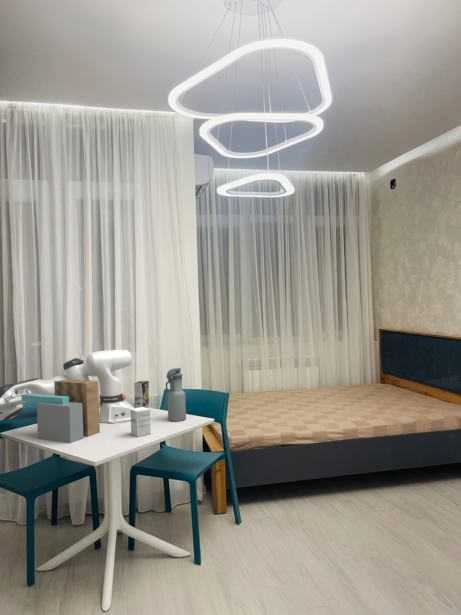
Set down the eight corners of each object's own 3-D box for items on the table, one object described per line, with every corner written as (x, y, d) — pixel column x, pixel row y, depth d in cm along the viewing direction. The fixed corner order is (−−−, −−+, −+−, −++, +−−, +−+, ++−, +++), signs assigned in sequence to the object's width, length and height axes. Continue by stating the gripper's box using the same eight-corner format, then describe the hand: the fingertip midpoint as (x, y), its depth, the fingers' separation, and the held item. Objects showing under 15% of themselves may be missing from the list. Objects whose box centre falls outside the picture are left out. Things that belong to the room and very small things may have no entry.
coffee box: (144, 409, 281) (143, 383, 281) (134, 409, 283) (133, 383, 283) (149, 406, 290) (149, 380, 290) (140, 406, 292) (139, 380, 292)
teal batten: (21, 400, 231) (21, 394, 231) (28, 399, 235) (28, 393, 235) (62, 404, 219) (62, 398, 219) (69, 402, 223) (68, 396, 223)
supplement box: (130, 434, 225) (129, 408, 225) (144, 431, 229) (143, 406, 229) (137, 437, 219) (136, 411, 219) (151, 434, 223) (150, 408, 223)
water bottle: (176, 423, 245) (175, 370, 245) (163, 420, 251) (162, 369, 251) (189, 418, 253) (188, 368, 253) (176, 416, 259) (175, 367, 259)
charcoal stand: (37, 438, 224) (36, 403, 224) (51, 433, 231) (50, 400, 231) (70, 443, 213) (69, 406, 213) (83, 438, 220) (82, 403, 221)
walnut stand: (55, 432, 233) (54, 381, 233) (68, 428, 240) (66, 379, 240) (88, 436, 223) (86, 383, 223) (99, 432, 230) (98, 380, 230)
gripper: (26, 406, 248) (40, 395, 243) (-9, 415, 230) (6, 403, 224) (21, 396, 250) (36, 384, 244) (-14, 404, 231) (1, 391, 226)
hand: (21, 393), depth 234 cm, fingers open, 8 cm apart
